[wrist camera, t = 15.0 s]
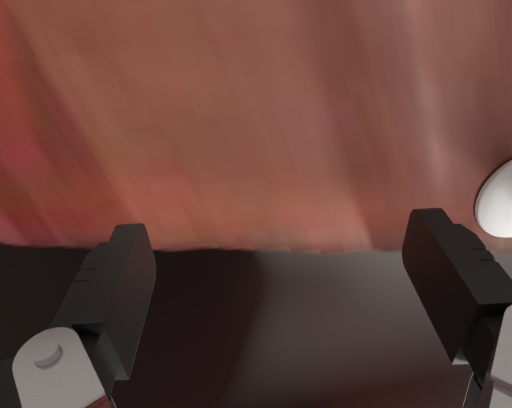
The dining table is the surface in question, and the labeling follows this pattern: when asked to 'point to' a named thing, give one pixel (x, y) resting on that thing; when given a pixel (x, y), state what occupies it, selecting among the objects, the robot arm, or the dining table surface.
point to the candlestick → (496, 203)
